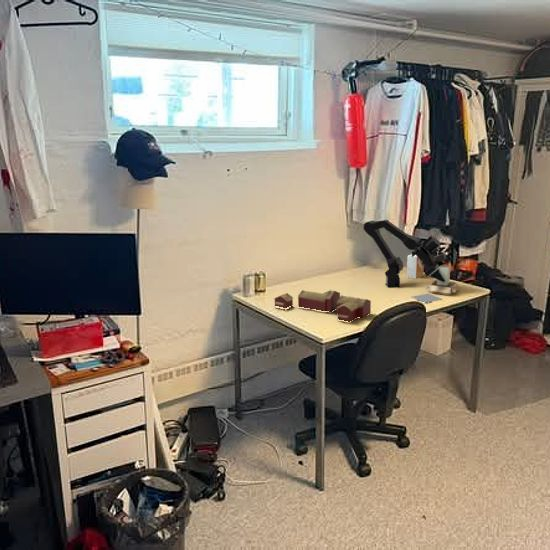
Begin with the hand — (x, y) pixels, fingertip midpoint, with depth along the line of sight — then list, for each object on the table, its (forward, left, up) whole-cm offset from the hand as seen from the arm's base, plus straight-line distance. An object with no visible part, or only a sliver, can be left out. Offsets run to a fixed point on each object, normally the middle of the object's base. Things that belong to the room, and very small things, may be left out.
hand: (445, 280), depth 279 cm
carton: (-1, +1, -7) cm, 7 cm away
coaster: (-13, -9, -7) cm, 17 cm away
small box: (-5, +33, -7) cm, 34 cm away
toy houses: (-69, -19, -7) cm, 72 cm away
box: (-1, +1, -6) cm, 6 cm away
